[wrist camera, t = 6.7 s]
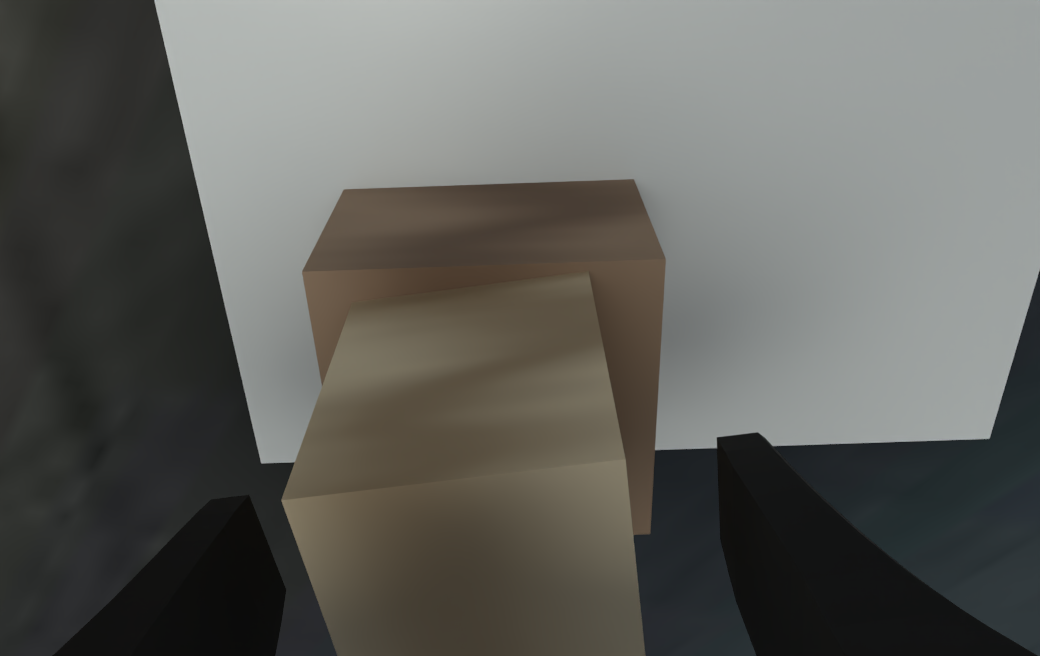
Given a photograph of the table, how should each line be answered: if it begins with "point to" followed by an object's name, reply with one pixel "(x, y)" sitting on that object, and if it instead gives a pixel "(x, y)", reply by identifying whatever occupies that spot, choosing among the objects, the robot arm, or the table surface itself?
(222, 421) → the table surface
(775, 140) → the board
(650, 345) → the walnut block
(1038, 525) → the table surface
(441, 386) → the maple block
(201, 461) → the table surface
